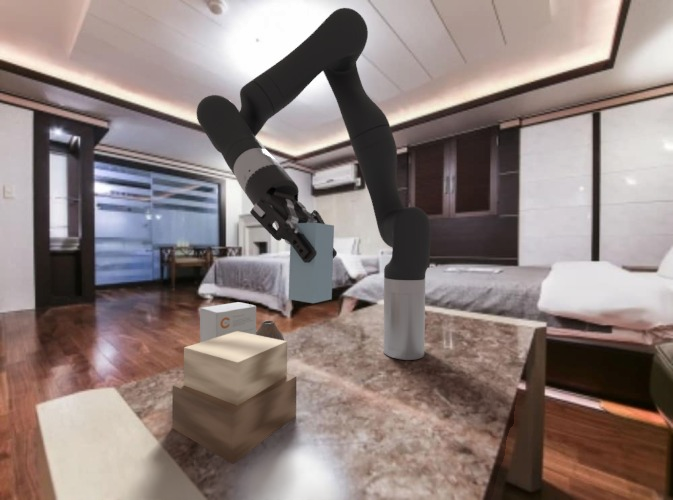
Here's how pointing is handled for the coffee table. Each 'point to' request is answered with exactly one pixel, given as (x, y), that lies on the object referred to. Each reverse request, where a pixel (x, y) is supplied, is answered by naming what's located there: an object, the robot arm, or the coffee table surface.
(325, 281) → the block
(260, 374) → the tower top
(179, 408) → the tower base
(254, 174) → the robot arm
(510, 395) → the coffee table surface
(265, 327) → the vase
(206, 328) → the small box
